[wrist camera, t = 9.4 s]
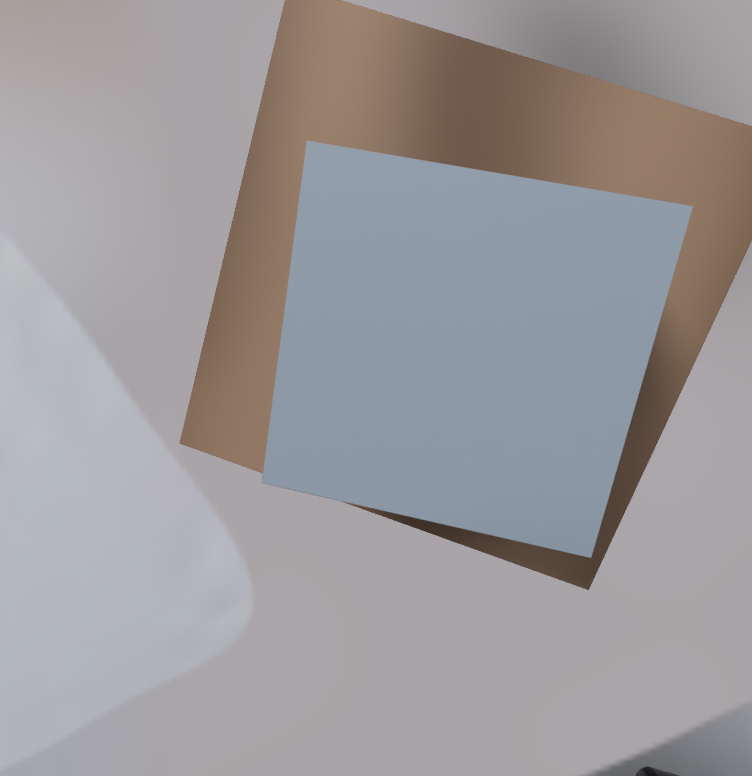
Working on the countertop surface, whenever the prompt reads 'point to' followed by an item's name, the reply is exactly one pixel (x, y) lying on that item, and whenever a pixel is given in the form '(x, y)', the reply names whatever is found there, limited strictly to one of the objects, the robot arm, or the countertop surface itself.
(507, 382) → the slate cube
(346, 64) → the walnut block
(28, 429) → the countertop surface
